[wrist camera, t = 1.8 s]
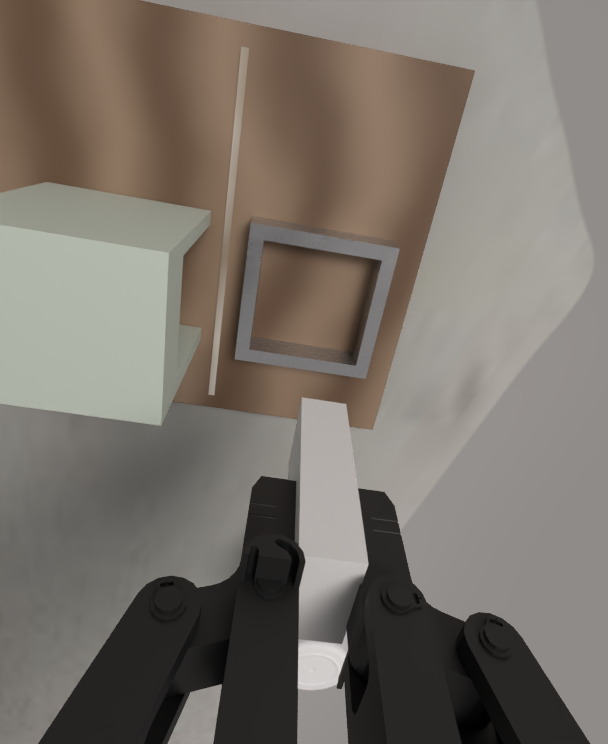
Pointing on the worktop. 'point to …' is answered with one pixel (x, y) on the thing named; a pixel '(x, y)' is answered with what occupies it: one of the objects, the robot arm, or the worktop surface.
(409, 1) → the worktop surface
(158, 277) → the cover
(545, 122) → the worktop surface
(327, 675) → the sprinkles bottle
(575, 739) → the robot arm
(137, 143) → the board
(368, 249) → the socket
